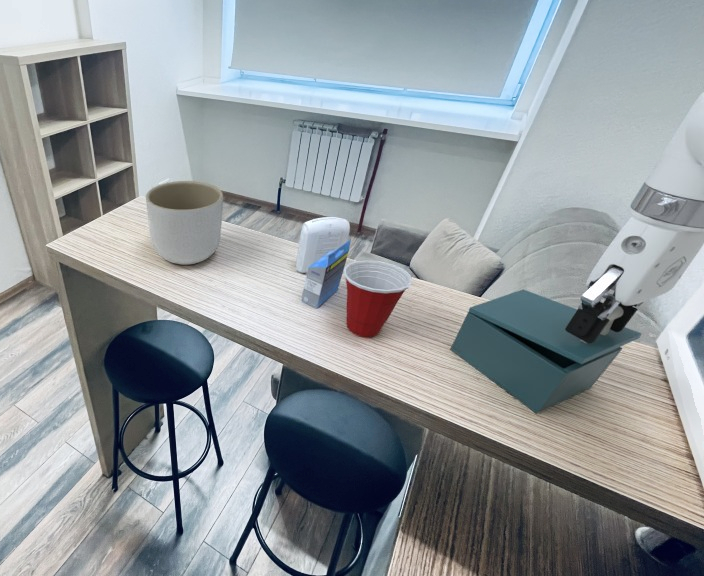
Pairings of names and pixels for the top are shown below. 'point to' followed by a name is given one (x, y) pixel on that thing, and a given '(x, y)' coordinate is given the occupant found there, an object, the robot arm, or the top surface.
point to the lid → (551, 325)
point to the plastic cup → (372, 294)
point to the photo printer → (320, 239)
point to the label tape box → (325, 276)
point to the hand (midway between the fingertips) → (592, 330)
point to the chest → (525, 364)
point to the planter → (185, 220)
